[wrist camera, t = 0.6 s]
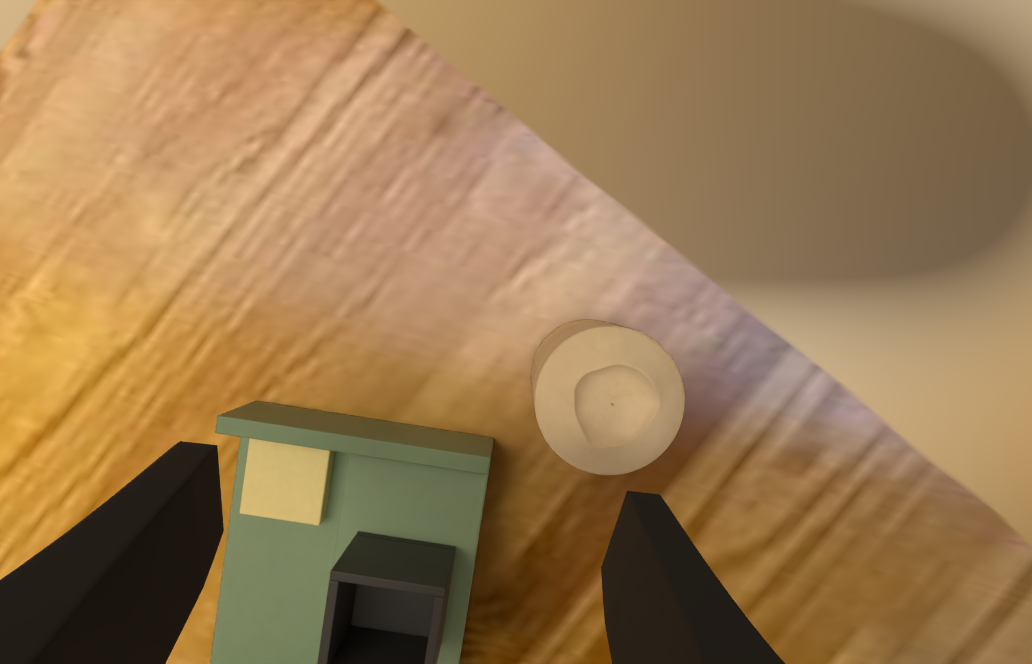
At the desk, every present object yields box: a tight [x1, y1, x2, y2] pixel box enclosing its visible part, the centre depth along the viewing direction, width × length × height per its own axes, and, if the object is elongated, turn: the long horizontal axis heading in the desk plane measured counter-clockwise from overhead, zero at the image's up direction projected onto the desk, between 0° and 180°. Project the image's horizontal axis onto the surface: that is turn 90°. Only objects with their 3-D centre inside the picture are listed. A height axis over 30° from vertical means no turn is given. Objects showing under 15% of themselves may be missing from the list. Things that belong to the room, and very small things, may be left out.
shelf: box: [210, 401, 494, 664], centre depth 31 cm, size 14×12×4 cm
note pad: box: [240, 438, 335, 526], centre depth 31 cm, size 4×4×1 cm
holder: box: [317, 531, 456, 664], centre depth 29 cm, size 5×5×4 cm
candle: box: [531, 320, 685, 475], centre depth 28 cm, size 6×6×10 cm
